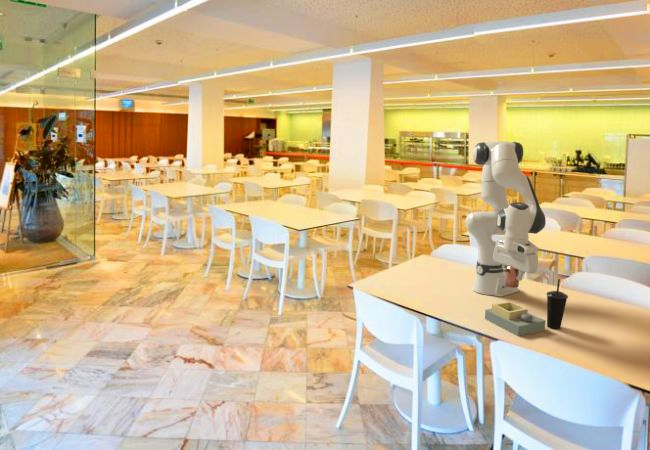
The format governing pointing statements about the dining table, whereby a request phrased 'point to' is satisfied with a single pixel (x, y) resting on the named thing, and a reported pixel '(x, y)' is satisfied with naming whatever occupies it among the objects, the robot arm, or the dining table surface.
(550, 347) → the dining table surface
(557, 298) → the drinking cup
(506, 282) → the spout can
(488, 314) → the grey block with tray
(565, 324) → the dining table surface
